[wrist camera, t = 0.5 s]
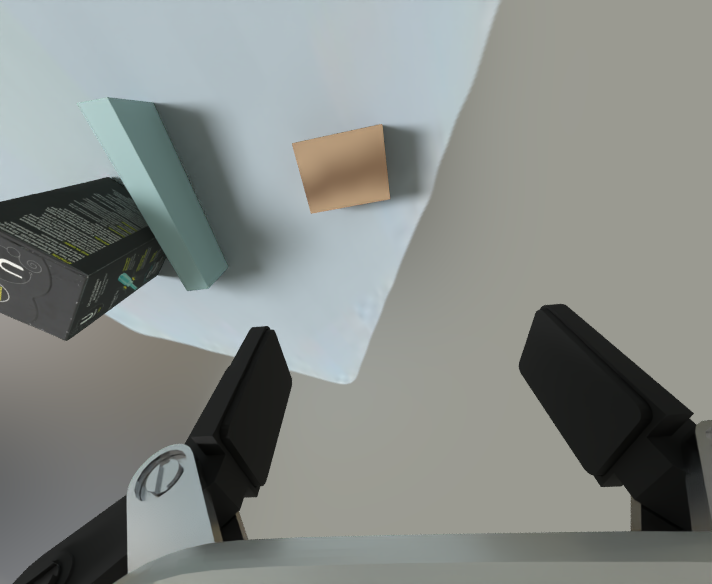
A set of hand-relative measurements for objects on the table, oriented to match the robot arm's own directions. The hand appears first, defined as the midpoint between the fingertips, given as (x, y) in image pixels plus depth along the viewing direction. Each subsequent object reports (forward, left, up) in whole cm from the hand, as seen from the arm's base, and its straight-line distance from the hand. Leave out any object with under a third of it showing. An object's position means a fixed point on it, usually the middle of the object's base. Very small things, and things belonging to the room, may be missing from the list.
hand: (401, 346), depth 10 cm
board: (-2, -24, -27) cm, 36 cm away
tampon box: (+1, -33, -27) cm, 43 cm away
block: (-3, -3, -27) cm, 28 cm away
